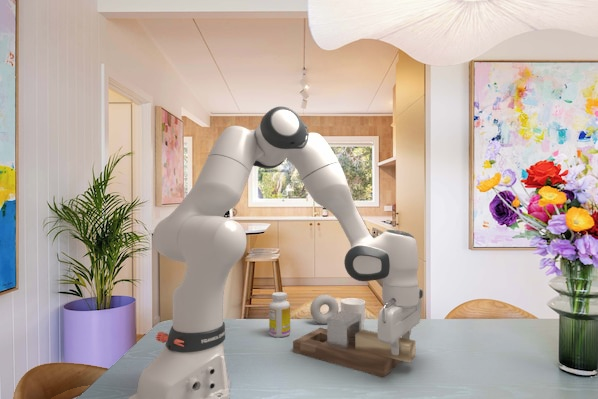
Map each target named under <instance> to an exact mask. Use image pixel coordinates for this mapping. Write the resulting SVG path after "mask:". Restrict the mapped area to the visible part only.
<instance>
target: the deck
mask: <svg viewBox="0 0 598 399" xmlns="http://www.w3.org/2000/svg"><path fill="white" fill-rule="evenodd" d="M292 353H296V354H300V355H303V356H306V357H310V358H313V359H318V360H321V361H324V362H326V363H332V364H335V365H338V366H341V367H345V368H348V369H352V370H355V371H359V372H363V373H366V374H369V375H372V376H373V375H374V376H377V377H379V378H385V377H386V376H388V374H389V373H391V372H392V371H393V370H394V369H395V368H397V366H398V365H399V364H401V363H402V361H401V360H397V359H392V358H388V357H384V356H380V355H376V354H372V353H368V352H364V351H360V350H356V349H355V341H352V340H349V349H348V350H343V349H339V348H335V347H331V346H328V345H327V328H323V327H319V328H317V329H315V330H312V331H310V332H309V333H307V334H305V335H303V336H301V337H298V338H296V339H294V340H293V341H292Z"/></svg>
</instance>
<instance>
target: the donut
mask: <svg viewBox="0 0 598 399" xmlns="http://www.w3.org/2000/svg"><path fill="white" fill-rule="evenodd" d="M325 305H326V306H327V307H328V311H327V312H326V313H322V312H321V308H322V306H325ZM309 311H310V316H311V317H312V319H313V321H315V322H316V323H319V324H322V325H327V318H328V317H330V316H332V315H334V314H336V313H338V312H339V304H338V301H337V300H336V299H335V298H334V297H333V296H332V295H330V294H320V295H318V296H316V297H315V298H314V299H313V300H312V302H311V304H310V309H309Z"/></svg>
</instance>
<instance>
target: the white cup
mask: <svg viewBox="0 0 598 399" xmlns="http://www.w3.org/2000/svg"><path fill="white" fill-rule="evenodd" d="M340 311H348V312H353V313H358V314H361V330H365V329H364V328H365V319H366V300H364V299H361V298H356V297H350V298H349V297H347V298H342V299H341V300H340Z"/></svg>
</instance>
